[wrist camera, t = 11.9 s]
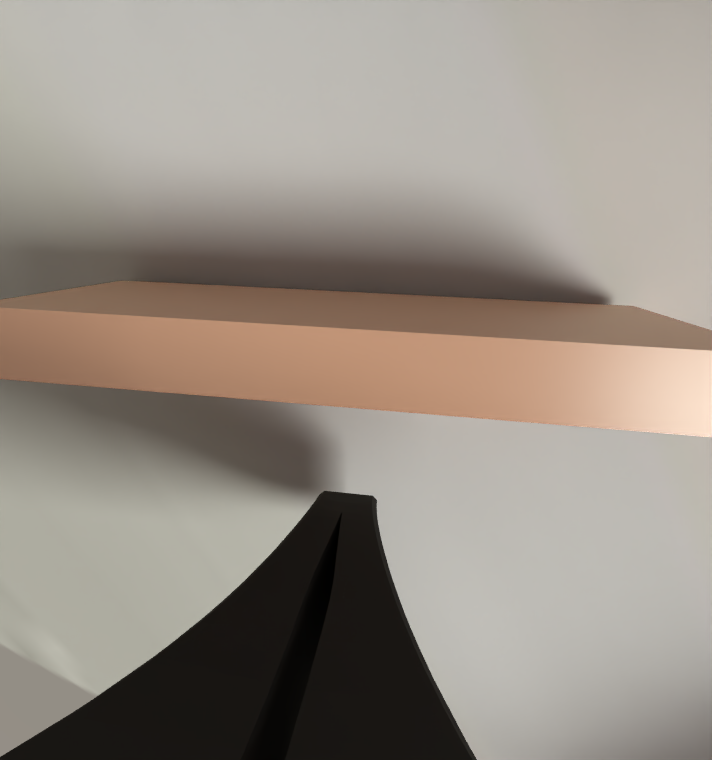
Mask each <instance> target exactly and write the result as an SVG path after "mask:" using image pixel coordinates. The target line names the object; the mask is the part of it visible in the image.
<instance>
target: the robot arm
mask: <svg viewBox="0 0 712 760" xmlns="http://www.w3.org/2000/svg"><path fill="white" fill-rule="evenodd" d="M376 507H377V500H376V499H375V498H374V497H373V496H369V495H360V494H350V493H340V492H330V491H324V492H322V493H321V494H320V495H319V496H318V498H317V499H316V501H315V502H314V503H313V505H312V506H311V507H310V509H309V510H308V511H307V512H306V514H305V515H304V516H303V517H302V519H301V520H300V521H299V522H298V524H297V525H296V526H295V527H294V528H293V530H292V531H291V532H290V533H289V534H288V535H287V536H286V538H285V539H284V540H283V541H282V542H281V543H280V544H279V546H278V547H277V548H276V549H275V550H274V551H273V552H272V553H271V554H270V555H269V556H268V557H267V558H266V559H265V561H264V562H263V563H262V564H261V565H260V566H259V567H258V568H257V569H256V570H255V571H254V572H253V573H252V574H251V575H250V576H249V577H248V578H247V579H246V580H245V581H244V582H243V583H242V584H241V585H240V586H239V587H237V588H236V589H235V590H234V591H233V592H232V593H231V594H230V595H229V596H228V597H227V598H226V599H224V600H223V601H222V602H221V603H220V604H219V605H218V606H216V607H215V608H214V609H213V610H212V611H211V612H210V613H208V614H207V615H206V616H205V617H204V618H202V619H201V620H200V621H199V622H197V623H196V624H195V625H194V626H193V627H191V628H190V629H189V630H188V631H186V632H185V633H184V634H183V635H181V636H180V637H179V638H178V639H176V640H175V641H174V642H173V643H171V644H170V645H169V646H167V647H166V648H165V649H163V650H162V651H161V652H159V653H158V654H157V655H155V656H154V657H153V658H151V659H150V660H149V661H147V662H146V663H144V664H143V665H141V666H140V667H139V668H137V669H136V670H134V671H133V672H131V673H130V674H129V675H127V676H126V677H124V678H123V679H121V680H120V681H119V682H117V683H116V684H114V685H113V686H111V687H110V688H109V689H107V690H106V691H104V692H103V693H101V694H100V695H98V696H97V697H96V698H94V699H93V700H91V701H90V702H88V703H87V704H85V705H84V706H82V707H81V708H79V709H77V710H76V711H74V712H73V713H71V714H70V715H68V716H66V717H65V718H63V719H62V720H60V721H58V722H57V723H55V724H53V725H52V726H50V727H48V728H47V729H45V730H44V731H42V732H40V733H39V734H37V735H35V736H34V737H32V738H31V739H29V740H27V741H26V742H24V743H22V744H21V745H19V746H18V747H16V748H14V749H13V750H11V751H9V752H8V753H6V754H5V755H3V756H1V757H0V760H477V759H476V757H475V756H474V754H473V752H472V750H471V749H470V747H469V745H468V743H467V742H466V740H465V738H464V736H463V734H462V732H461V730H460V728H459V727H458V725H457V723H456V721H455V719H454V717H453V715H452V713H451V711H450V709H449V707H448V706H447V704H446V702H445V700H444V698H443V696H442V694H441V692H440V690H439V688H438V686H437V685H436V683H435V681H434V679H433V677H432V675H431V672H430V670H429V668H428V666H427V664H426V662H425V660H424V657H423V655H422V653H421V651H420V649H419V647H418V644H417V642H416V640H415V637H414V635H413V633H412V630H411V628H410V626H409V623H408V621H407V618H406V616H405V613H404V610H403V608H402V605H401V603H400V600H399V597H398V594H397V591H396V589H395V586H394V583H393V580H392V577H391V574H390V570H389V567H388V563H387V560H386V556H385V553H384V549H383V545H382V541H381V537H380V532H379V526H378V520H377V508H376Z"/></svg>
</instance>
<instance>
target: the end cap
mask: <svg viewBox="0 0 712 760" xmlns="http://www.w3.org/2000/svg"><path fill="white" fill-rule="evenodd" d="M0 379H7V380H19V381H31V382H43V383H56V384H68V385H80V386H92V387H104V388H117V389H129V390H141V391H153V392H165V393H178V394H190V395H202V396H214V397H226V398H239V399H251V400H263V401H275V402H287V403H300V404H312V405H324V406H336V407H348V408H360V409H373V410H385V411H397V412H409V413H421V414H434V415H446V416H458V417H470V418H482V419H495V420H507V421H519V422H531V423H543V424H556V425H568V426H580V427H592V428H604V429H617V430H629V431H641V432H653V433H665V434H678V435H690V436H702V437H712V330H708V329H705V328H702V327H699V326H696V325H692V324H689V323H686V322H683V321H680V320H676V319H673V318H670V317H667V316H664V315H660V314H657V313H654V312H651V311H648V310H644V309H641V308H638V307H635V306H622V305H602V304H582V303H562V302H542V301H522V300H502V299H482V298H462V297H442V296H423V295H403V294H383V293H363V292H343V291H323V290H303V289H283V288H263V287H243V286H223V285H203V284H184V283H164V282H144V281H124V280H122V281H115V282H109V283H103V284H96V285H90V286H83V287H77V288H71V289H64V290H58V291H52V292H45V293H39V294H32V295H26V296H20V297H13V298H7V299H1V300H0Z"/></svg>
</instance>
